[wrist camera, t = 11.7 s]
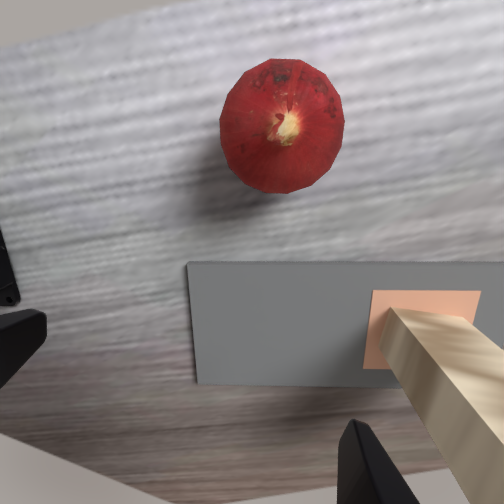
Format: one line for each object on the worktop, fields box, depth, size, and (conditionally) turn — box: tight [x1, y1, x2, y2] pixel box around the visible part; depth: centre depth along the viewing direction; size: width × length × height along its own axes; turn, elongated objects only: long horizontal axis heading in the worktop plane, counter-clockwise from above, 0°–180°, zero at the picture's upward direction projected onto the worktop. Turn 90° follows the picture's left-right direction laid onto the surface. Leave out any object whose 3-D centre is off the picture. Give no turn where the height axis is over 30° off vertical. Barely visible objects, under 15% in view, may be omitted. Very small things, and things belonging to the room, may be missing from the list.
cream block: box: [378, 307, 504, 504], centre depth 14 cm, size 5×3×13 cm, turn 82°
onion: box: [219, 59, 345, 194], centre depth 14 cm, size 6×6×8 cm
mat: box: [187, 262, 504, 388], centre depth 21 cm, size 22×10×1 cm, turn 91°
